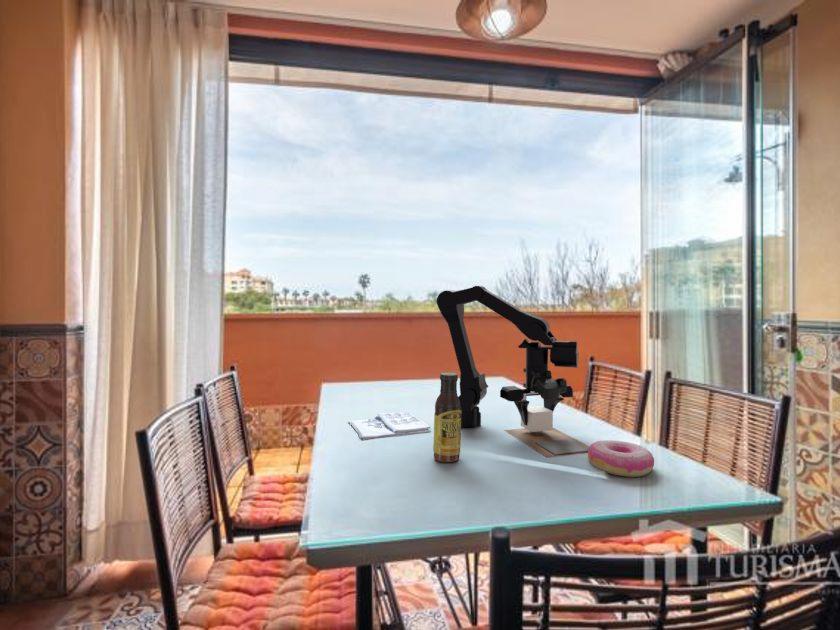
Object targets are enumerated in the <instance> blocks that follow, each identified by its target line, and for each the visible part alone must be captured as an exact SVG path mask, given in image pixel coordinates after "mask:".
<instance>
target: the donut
mask: <svg viewBox="0 0 840 630" xmlns="http://www.w3.org/2000/svg"><path fill="white" fill-rule="evenodd" d="M589 446H590V447H589V449H588V453H587V458H588V461H589V462H590V464H591V465H592V466H594V467H595V468H597V469H599V470H603V471H605V473H607V474H610V475H614V476H615V475H616V476H620V477H627V478H628V477H630V478H631V477H632V478H635V477H643V476H645V475H647V474H649V473H651V471H652V470H653V469H654V466H655V458H654V455H653V454H652V452H650V450H648V449H647V448H646V447H644V446H642V445H640V444H637V443H633V442H629V441H622V440H613V439H611V440H610V439H608V440H597V441H596V442H593V443H592V444H591V445H589Z"/></svg>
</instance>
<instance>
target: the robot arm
mask: <svg viewBox="0 0 840 630" xmlns="http://www.w3.org/2000/svg"><path fill="white" fill-rule="evenodd" d="M473 302H478V303H480V304H481V305H483V306H485V307H486V308H488V309H490V310H491V311H492V312H494V313H496V314H498V315H499V316H501V317H503V318H505V319H506V320H508V321H509V322H510V323H512V324H513V325H514V327H516V328H517V329H518V330H519V331H520V332H521V333H522V334H523V335H524V336H525V337H527V338H525V339H523V340H522V342H521V343H520V344H519V345H517V347H518V349H525V367H523V373H525V383H522V384H523V388H520V387H518V386H515V385H512V386H511V385H508V386H502V387H501V388H500V390H499V392H500V393H499V397H500V398H502V399H504V400H506V401H508V402H513V403H514V405H515V407H516V409H517V410H518V413H519V415H520V419H521V418H522V420H523V423H524V425H527V423H528V408H527V407H529V405H530V401H529V400H527V397H530V396H535V397H536V396H540V398H541V399H542V400H543V407H545V408H547V409H549V410H551V411H553V412H554V411H555V409H556V407H557V405H558V404H559V403H561V402H562V401H563V402H564V400H565V398H573V397H574V390H573V389H574V388H573V387H572V386H571V385H569V384H567V383H568V382H567V381H568V380H567V379H565V378H564V377H560V378H553V377H552V371H551V370H550V369H549V362H550V363H552V364H553V365H554V367H556V368H557V367H559V368H573V369H574V368H578V367H579V352H578V351H579V349H578V341H577V340H569V341H565V340H558V339H557V338H556V336H554V334H553V333H552V331H551V328H550V323H549V322H548V320H546V319H545V318H543V317H541V316H538V315H535V314H533V313H530V312H527V311H524V310H521V309H519V308H518V307H516V306H514V304H511V303H510V302H508V301H506V300H505V299H503V298H501V297H500V296H498V295H496V294H494V293H493V292H492V291H490V290H488V289H487V288H486V287H485V286H483V285H473V286H472V287H468V288H464V289H461V290H460V289H459V290H451V289H450V290H443V291H441V292H440V293H439V294H438V296H437V297H436V306H437V307H438V310H439V312H440V314H441V316H442V317H443V319H444V321H445V322H446V323H447V326H448V329H449V333H450V337H451V341H452V345H453V349H454V354H455V356H456V357H455V358H456V361H457V364H458V365H457V366H458V369H459V373H460V377H459V393H460V395H459V396H458V398H459V401H460V406H461V429H466V430H467V429H470V430H471V429H475V428H477V427H481V426H482V413H481V412H480V407H479V406H478V405H480V403H481V400H483V399H484V398H485V397H486V395H487V393H488V391H487V389H488V388H489V385H488V384H487V382H486V374H485V373H481V374H480V373H479V371H478V370H477V368H476V364H475V360H474V357H473V352H472V349H471V346H470V345H471V344H470V341H469V337H468V333H467V329H466V325H465V322H464V318H465V317H464V315H465V305H467V304H469V303H473ZM528 339H529V340H531V341H529V340H528ZM541 344H542V345H541ZM549 351H550V352H549Z"/></svg>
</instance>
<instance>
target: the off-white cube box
mask: <svg viewBox="0 0 840 630" xmlns="http://www.w3.org/2000/svg"><path fill="white" fill-rule="evenodd" d="M527 408H528V423H527V425H524V423H523V420H522V418H521V417H520V427H523V428H526V429H527V430H529V431H531V432H538V431H548V430H553V428H554V427H553V426H554V424H553V421H554V418H553V417H554V415H553V414H554V411H551V410H549V409H547V408H545V407H544V406H542V405H536V406H533V405H531V406H528V407H527Z"/></svg>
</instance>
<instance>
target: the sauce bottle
mask: <svg viewBox="0 0 840 630" xmlns="http://www.w3.org/2000/svg"><path fill="white" fill-rule="evenodd" d="M458 379H459V378H458V373H456V372H441V373H439V380H440V389H439V390H440V391H439V395H438V397H437V398H436V401H435V403H434V404H435V405H434V416H433V417H434V419H433V421H434V422H433V459H434V460H436V461H437V462H440V463H454V462H456V461H459V459H460V454H461V441H462V439H461V437H462V428H461V406H460V401H459V398H458V397H459V396H458V390H457V386H458V385H457V384H458Z"/></svg>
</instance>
